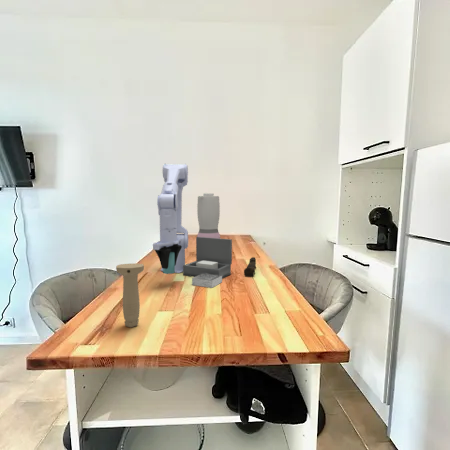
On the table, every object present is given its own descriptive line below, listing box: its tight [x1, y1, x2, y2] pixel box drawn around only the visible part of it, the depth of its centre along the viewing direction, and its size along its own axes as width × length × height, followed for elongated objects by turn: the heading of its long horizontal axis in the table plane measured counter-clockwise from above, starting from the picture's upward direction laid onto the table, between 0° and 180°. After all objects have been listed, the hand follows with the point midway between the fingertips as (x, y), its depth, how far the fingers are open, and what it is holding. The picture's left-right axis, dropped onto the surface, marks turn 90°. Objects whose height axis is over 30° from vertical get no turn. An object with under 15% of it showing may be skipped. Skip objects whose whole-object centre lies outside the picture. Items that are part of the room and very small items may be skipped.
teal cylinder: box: [162, 252, 175, 275], centre depth 113 cm, size 4×4×7 cm
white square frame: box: [191, 273, 223, 289], centre depth 115 cm, size 8×8×2 cm
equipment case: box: [182, 236, 233, 280], centre depth 127 cm, size 16×11×14 cm
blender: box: [196, 192, 221, 239], centre depth 166 cm, size 16×12×32 cm
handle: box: [115, 262, 145, 328], centre depth 79 cm, size 5×6×15 cm
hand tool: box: [243, 256, 257, 278], centre depth 134 cm, size 19×4×5 cm, turn 167°
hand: (168, 266), depth 113 cm, fingers closed on teal cylinder, 4 cm apart
